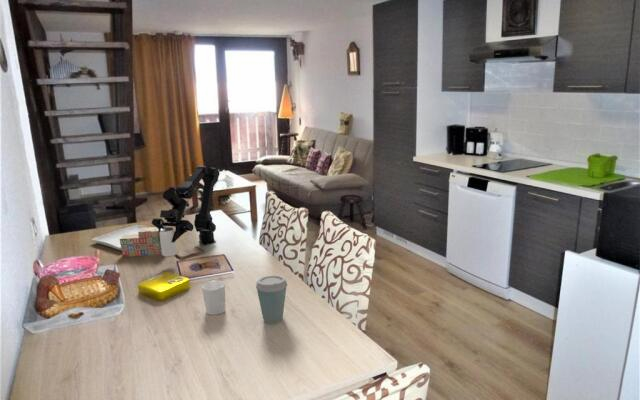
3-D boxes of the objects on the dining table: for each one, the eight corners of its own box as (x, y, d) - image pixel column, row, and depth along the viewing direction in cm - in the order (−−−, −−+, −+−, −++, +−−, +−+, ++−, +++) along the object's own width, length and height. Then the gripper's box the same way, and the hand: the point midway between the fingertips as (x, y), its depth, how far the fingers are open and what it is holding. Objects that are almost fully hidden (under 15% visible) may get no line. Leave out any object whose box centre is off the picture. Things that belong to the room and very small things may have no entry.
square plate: (137, 230, 260) (137, 223, 259) (167, 238, 245) (166, 231, 244) (91, 244, 239) (90, 237, 238) (121, 254, 224) (119, 246, 223)
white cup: (231, 306, 166) (228, 281, 164) (219, 317, 159) (217, 291, 156) (212, 304, 169) (209, 279, 166) (200, 314, 162) (197, 288, 159)
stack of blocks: (122, 257, 219) (118, 232, 216) (126, 252, 225) (123, 228, 222) (167, 254, 220) (164, 230, 217) (170, 249, 226) (167, 226, 223)
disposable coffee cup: (254, 315, 159) (251, 276, 155) (283, 308, 163) (281, 269, 159) (263, 330, 150) (260, 288, 146) (294, 322, 154) (291, 281, 150)
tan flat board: (196, 248, 227) (196, 245, 226) (204, 252, 221) (204, 249, 221) (174, 254, 219) (173, 252, 219) (181, 259, 213) (181, 256, 213)
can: (164, 252, 207) (160, 227, 204) (178, 251, 208) (175, 226, 205) (160, 257, 201) (157, 232, 198) (175, 256, 202) (172, 231, 199)
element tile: (169, 280, 192) (167, 269, 191) (192, 288, 183) (191, 277, 182) (137, 294, 180) (135, 283, 179) (160, 303, 172) (158, 291, 171)
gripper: (150, 201, 205) (138, 232, 198) (186, 203, 199) (174, 235, 192) (164, 212, 214) (152, 243, 207) (198, 214, 208) (187, 246, 201)
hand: (166, 241), depth 202 cm, fingers closed on can, 6 cm apart
